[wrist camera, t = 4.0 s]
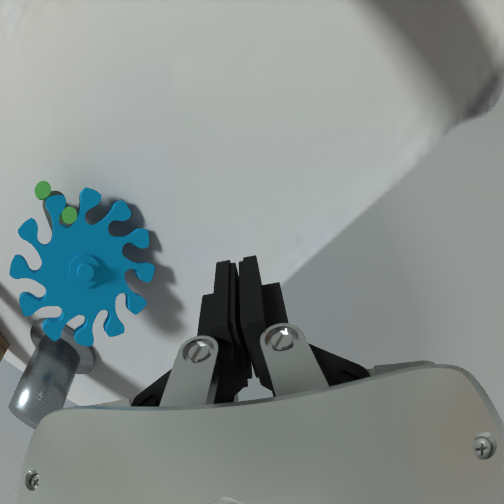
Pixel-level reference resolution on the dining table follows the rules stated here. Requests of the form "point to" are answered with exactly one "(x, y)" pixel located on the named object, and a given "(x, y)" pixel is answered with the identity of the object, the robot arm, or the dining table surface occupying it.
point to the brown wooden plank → (3, 346)
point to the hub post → (49, 374)
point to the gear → (81, 265)
